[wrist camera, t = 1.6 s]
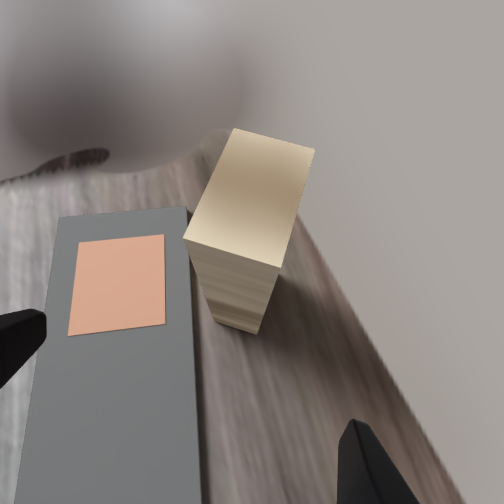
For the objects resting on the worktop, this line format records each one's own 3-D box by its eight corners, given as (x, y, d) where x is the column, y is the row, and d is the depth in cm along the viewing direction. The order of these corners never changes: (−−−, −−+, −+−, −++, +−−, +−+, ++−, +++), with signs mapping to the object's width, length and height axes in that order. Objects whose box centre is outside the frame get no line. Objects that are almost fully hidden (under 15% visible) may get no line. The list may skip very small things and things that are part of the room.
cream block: (256, 334, 21) (280, 267, 9) (214, 321, 21) (182, 237, 9) (275, 272, 23) (315, 149, 11) (236, 260, 23) (234, 128, 11)
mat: (204, 554, 16) (203, 560, 15) (7, 593, 15) (-3, 602, 14) (187, 209, 25) (186, 205, 24) (63, 221, 24) (58, 216, 23)
